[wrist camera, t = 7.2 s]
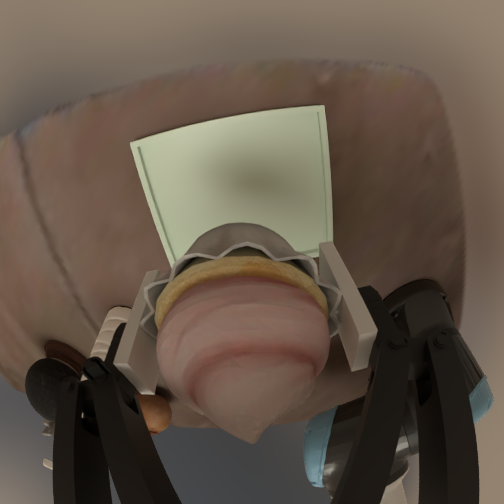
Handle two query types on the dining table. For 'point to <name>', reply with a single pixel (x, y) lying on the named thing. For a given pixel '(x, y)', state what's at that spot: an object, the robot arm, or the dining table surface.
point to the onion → (155, 412)
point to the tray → (240, 177)
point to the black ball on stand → (52, 377)
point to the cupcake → (241, 327)
